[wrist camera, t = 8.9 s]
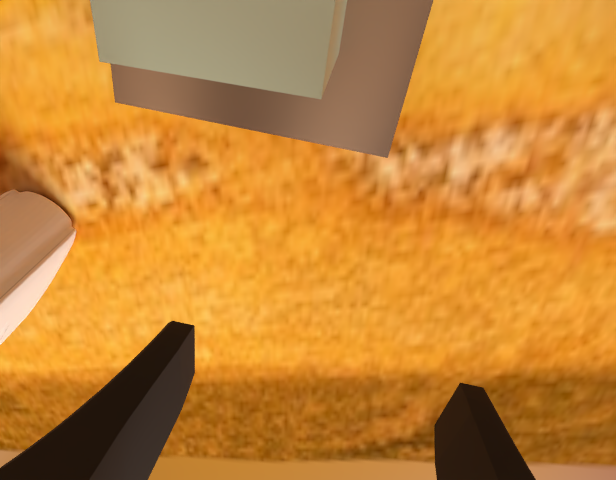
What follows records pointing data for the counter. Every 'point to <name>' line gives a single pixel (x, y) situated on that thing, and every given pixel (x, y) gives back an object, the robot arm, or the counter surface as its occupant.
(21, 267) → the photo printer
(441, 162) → the counter surface
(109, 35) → the sage cube
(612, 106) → the counter surface
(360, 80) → the walnut slab
